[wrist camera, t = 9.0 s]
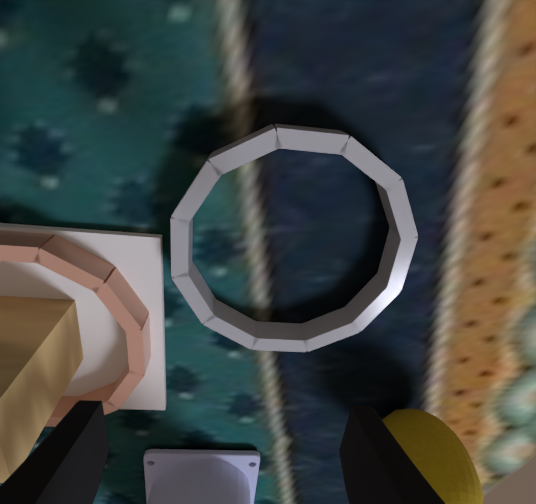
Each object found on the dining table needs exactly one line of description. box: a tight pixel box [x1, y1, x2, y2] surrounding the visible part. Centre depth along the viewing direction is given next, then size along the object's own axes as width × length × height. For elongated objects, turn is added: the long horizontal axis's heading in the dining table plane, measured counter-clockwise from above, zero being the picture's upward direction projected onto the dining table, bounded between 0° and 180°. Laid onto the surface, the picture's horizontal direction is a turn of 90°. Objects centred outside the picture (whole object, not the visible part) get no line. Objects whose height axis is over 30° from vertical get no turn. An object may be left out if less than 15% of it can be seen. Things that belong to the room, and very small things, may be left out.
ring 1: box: [0, 230, 151, 427], centre depth 19 cm, size 12×12×2 cm
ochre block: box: [0, 296, 84, 483], centre depth 16 cm, size 4×4×7 cm
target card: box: [0, 223, 166, 410], centre depth 20 cm, size 12×13×1 cm
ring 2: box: [170, 123, 418, 352], centre depth 18 cm, size 12×12×2 cm
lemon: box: [382, 409, 483, 504], centre depth 21 cm, size 6×6×8 cm
